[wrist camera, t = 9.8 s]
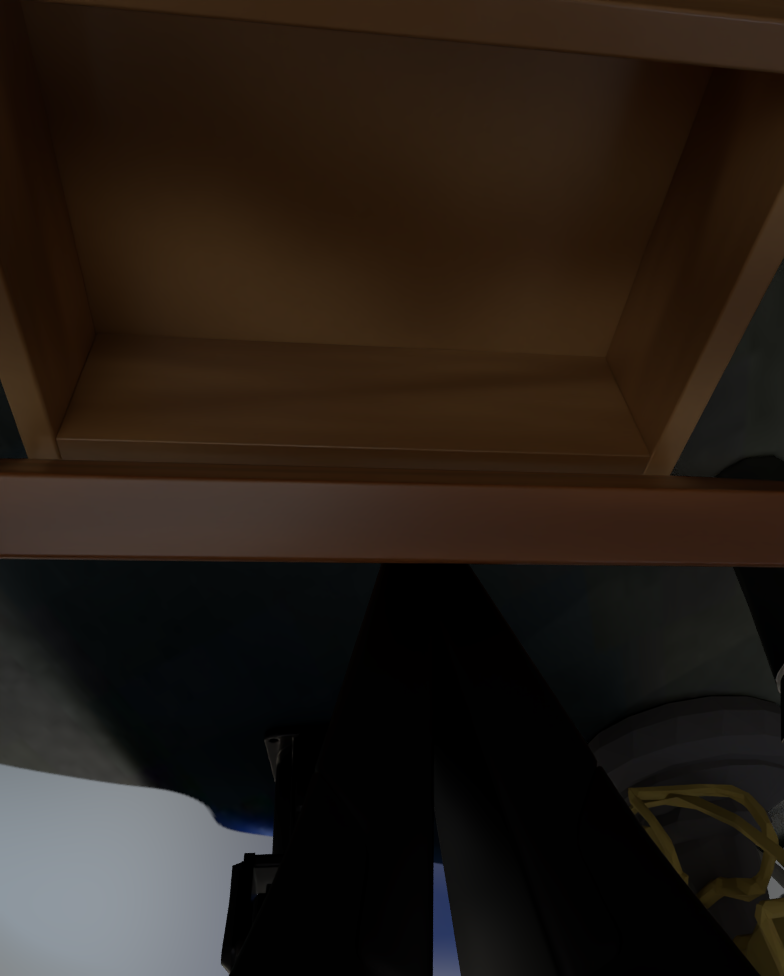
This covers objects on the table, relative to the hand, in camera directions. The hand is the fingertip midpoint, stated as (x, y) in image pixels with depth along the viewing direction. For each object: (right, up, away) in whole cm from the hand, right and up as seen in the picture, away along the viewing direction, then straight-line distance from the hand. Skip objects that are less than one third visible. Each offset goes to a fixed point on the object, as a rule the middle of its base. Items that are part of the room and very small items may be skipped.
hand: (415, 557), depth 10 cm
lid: (0, +1, +3) cm, 3 cm away
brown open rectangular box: (-1, +9, +9) cm, 13 cm away
